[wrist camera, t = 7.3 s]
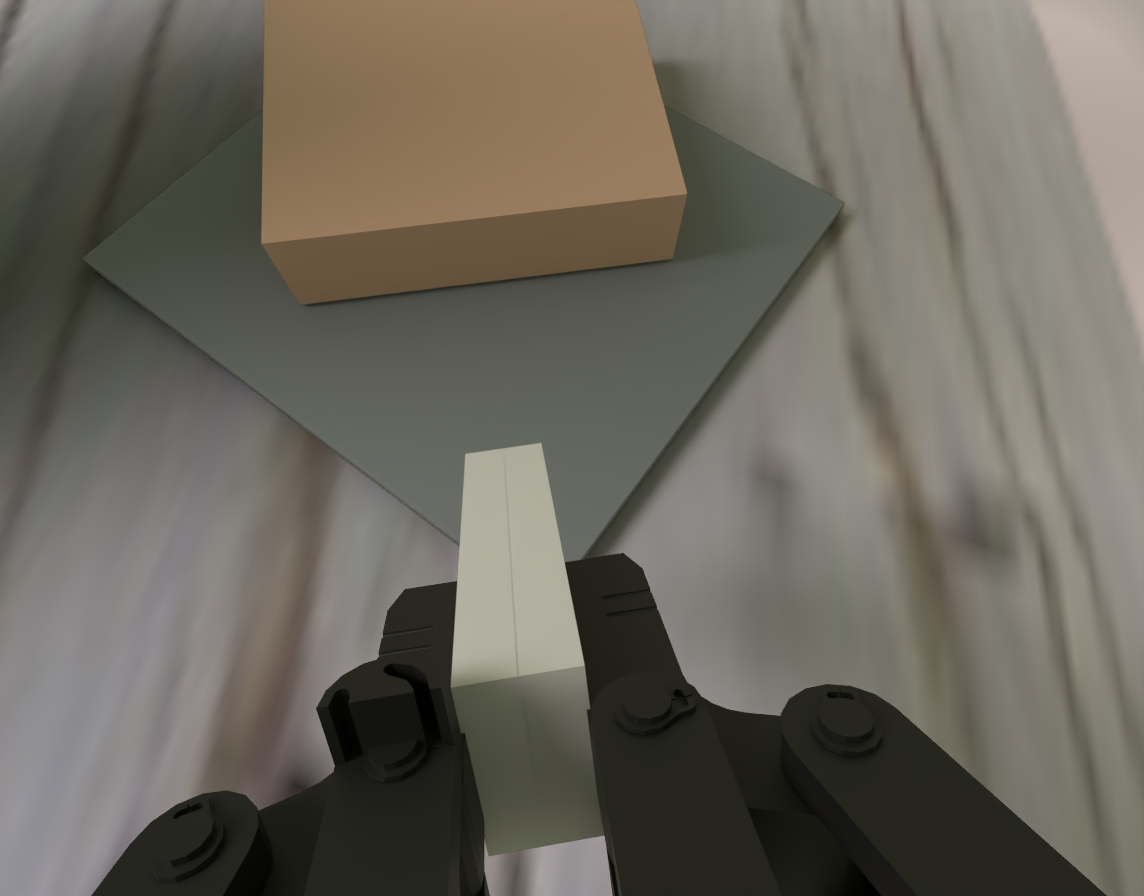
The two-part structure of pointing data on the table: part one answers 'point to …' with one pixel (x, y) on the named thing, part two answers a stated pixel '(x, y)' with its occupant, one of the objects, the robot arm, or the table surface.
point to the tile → (460, 143)
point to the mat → (481, 332)
